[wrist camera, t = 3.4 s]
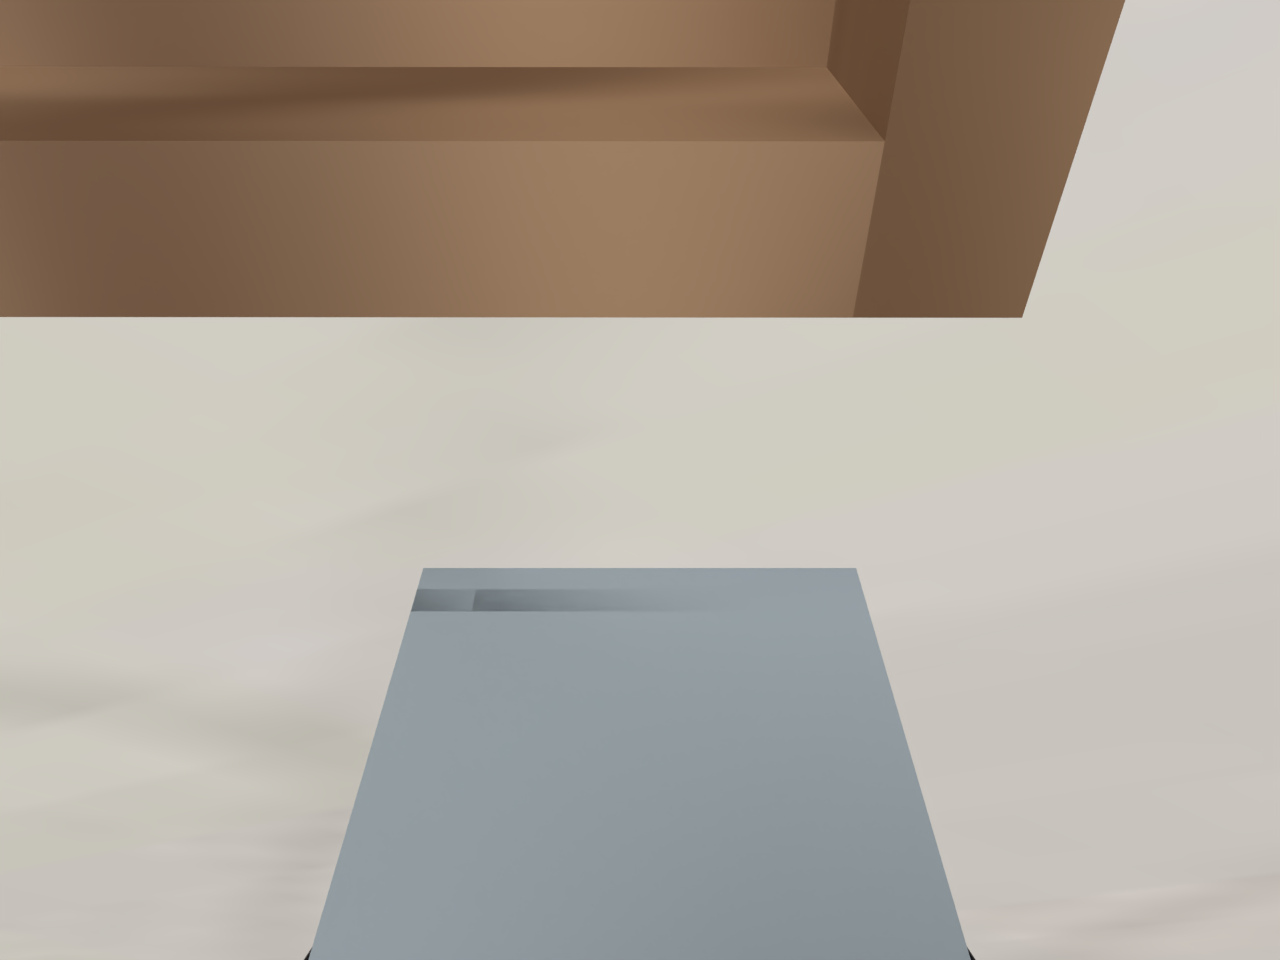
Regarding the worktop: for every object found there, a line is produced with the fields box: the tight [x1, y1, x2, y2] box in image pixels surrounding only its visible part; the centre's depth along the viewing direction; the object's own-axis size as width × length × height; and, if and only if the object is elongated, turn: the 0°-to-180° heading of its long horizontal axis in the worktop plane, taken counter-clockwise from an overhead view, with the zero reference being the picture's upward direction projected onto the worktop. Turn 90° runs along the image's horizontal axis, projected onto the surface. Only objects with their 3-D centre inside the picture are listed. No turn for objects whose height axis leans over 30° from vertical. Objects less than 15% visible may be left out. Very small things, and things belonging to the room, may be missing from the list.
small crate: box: [309, 568, 971, 960], centre depth 11 cm, size 6×8×6 cm
